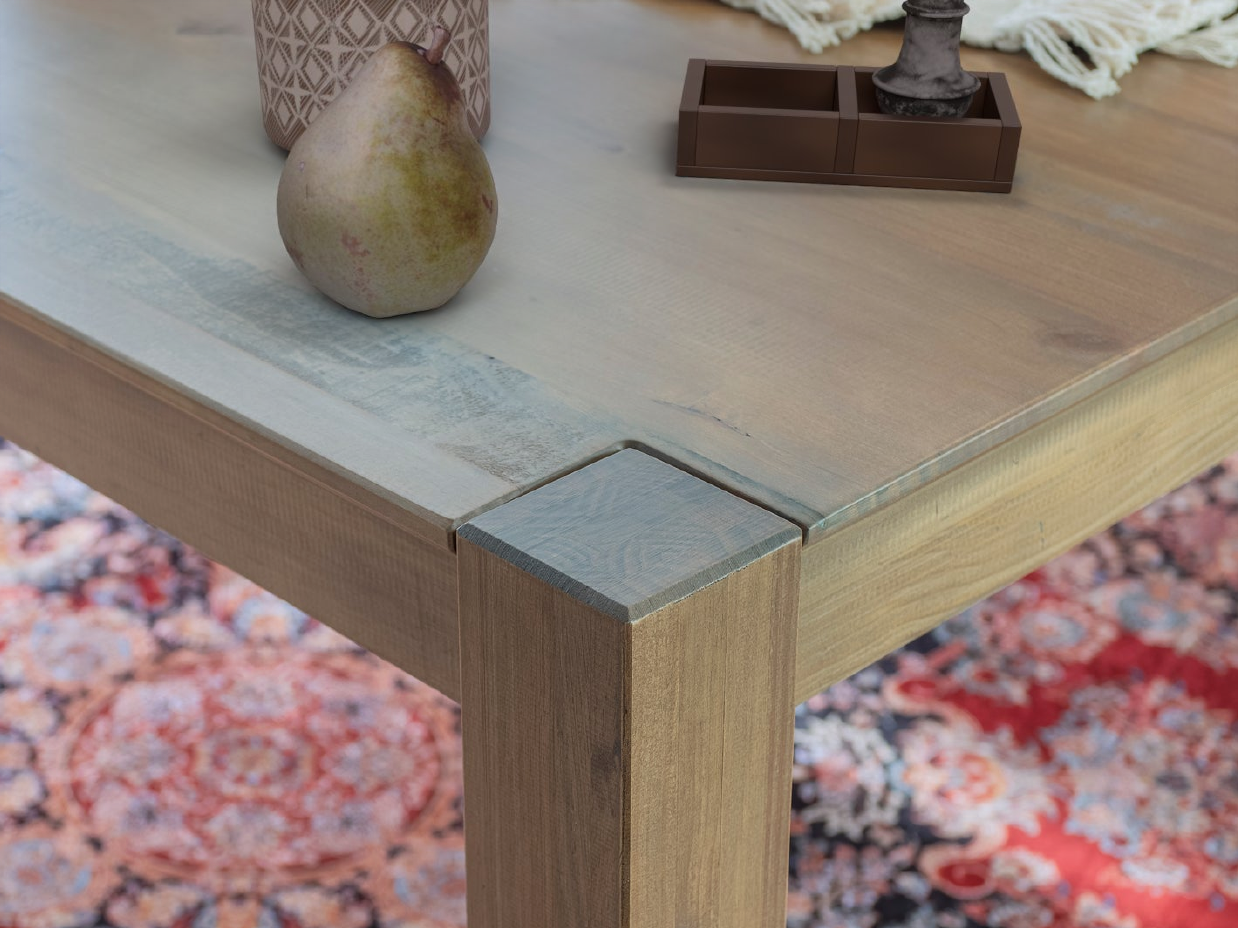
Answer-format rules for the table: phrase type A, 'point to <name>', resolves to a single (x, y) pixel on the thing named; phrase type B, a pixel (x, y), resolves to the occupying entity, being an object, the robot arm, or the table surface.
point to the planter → (358, 53)
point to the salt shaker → (928, 64)
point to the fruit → (390, 187)
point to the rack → (838, 129)
